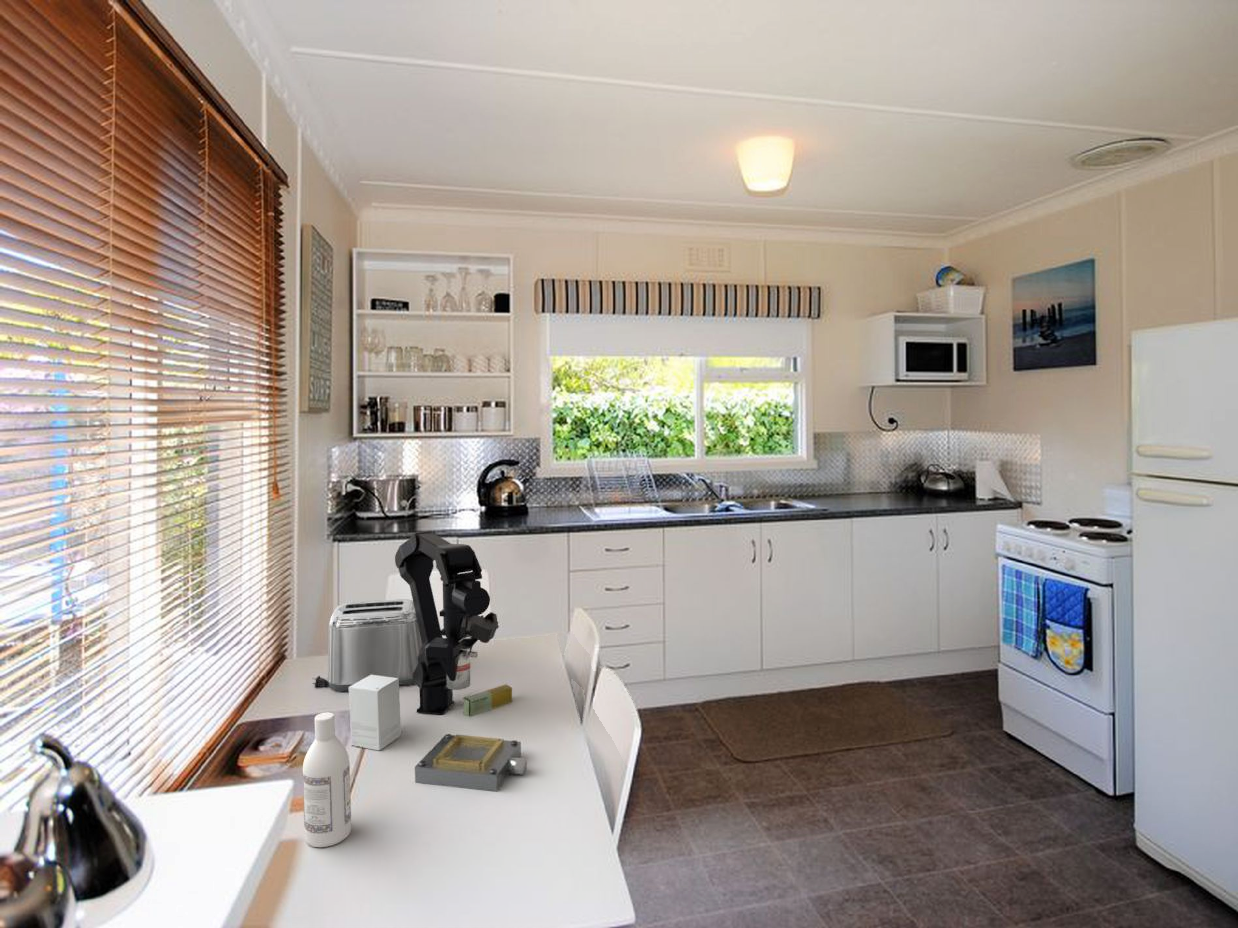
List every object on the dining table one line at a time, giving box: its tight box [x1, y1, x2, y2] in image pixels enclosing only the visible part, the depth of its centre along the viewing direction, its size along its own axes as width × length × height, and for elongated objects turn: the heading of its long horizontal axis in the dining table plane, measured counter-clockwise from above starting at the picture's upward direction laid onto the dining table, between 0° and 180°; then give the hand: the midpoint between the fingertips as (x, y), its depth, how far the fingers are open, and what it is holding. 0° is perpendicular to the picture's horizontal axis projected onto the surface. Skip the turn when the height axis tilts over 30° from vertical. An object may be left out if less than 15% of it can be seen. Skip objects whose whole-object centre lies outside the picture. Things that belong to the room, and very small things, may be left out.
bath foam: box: [302, 711, 352, 848], centre depth 110 cm, size 7×7×20 cm
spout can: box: [446, 645, 478, 691], centre depth 147 cm, size 7×5×8 cm
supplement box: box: [348, 675, 402, 751], centre depth 143 cm, size 7×7×13 cm
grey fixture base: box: [414, 733, 528, 792], centre depth 131 cm, size 19×13×4 cm
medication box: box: [462, 683, 513, 717], centre depth 159 cm, size 12×3×4 cm, turn 134°
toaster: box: [312, 598, 422, 693], centre depth 176 cm, size 17×30×19 cm, turn 104°
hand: (458, 675), depth 147 cm, fingers closed on spout can, 5 cm apart
